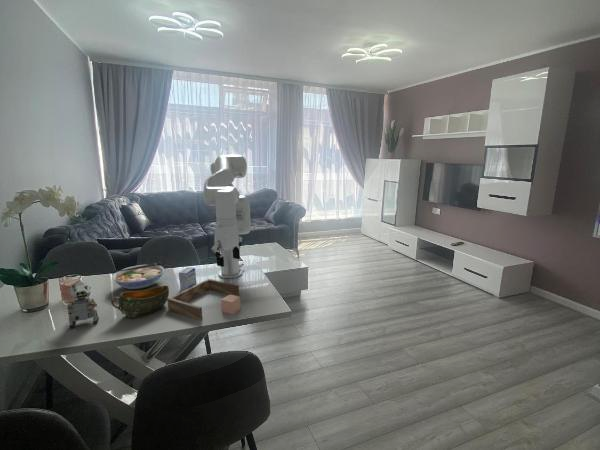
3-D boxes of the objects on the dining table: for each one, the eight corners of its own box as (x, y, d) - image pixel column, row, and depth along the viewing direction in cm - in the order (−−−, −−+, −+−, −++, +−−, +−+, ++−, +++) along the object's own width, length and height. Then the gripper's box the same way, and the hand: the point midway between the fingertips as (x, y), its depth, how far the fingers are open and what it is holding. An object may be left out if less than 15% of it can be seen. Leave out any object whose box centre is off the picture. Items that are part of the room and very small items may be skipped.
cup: (120, 307, 136) (117, 285, 134) (170, 301, 142) (168, 280, 139) (112, 323, 124) (109, 299, 122) (168, 315, 130) (166, 293, 127)
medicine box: (188, 290, 153) (186, 273, 151) (179, 289, 154) (178, 272, 152) (196, 283, 161) (195, 267, 159) (188, 282, 162) (187, 266, 160)
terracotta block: (230, 306, 138) (229, 294, 136) (240, 308, 135) (240, 296, 134) (221, 311, 133) (221, 299, 132) (232, 314, 130) (231, 302, 129)
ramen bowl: (111, 301, 142) (109, 284, 140) (111, 283, 161) (109, 268, 159) (171, 289, 154) (169, 273, 152) (164, 274, 173) (162, 259, 171)
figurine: (101, 312, 132) (96, 278, 128) (96, 326, 121) (90, 290, 118) (75, 317, 128) (69, 282, 125) (67, 331, 118) (60, 294, 115)
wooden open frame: (209, 288, 155) (208, 278, 154) (239, 295, 147) (238, 285, 146) (168, 309, 134) (167, 298, 133) (200, 320, 126) (199, 308, 125)
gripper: (233, 216, 134) (235, 254, 139) (203, 224, 120) (206, 267, 124) (247, 217, 131) (249, 257, 135) (218, 227, 116) (221, 271, 120)
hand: (228, 262), depth 129 cm, fingers open, 9 cm apart
